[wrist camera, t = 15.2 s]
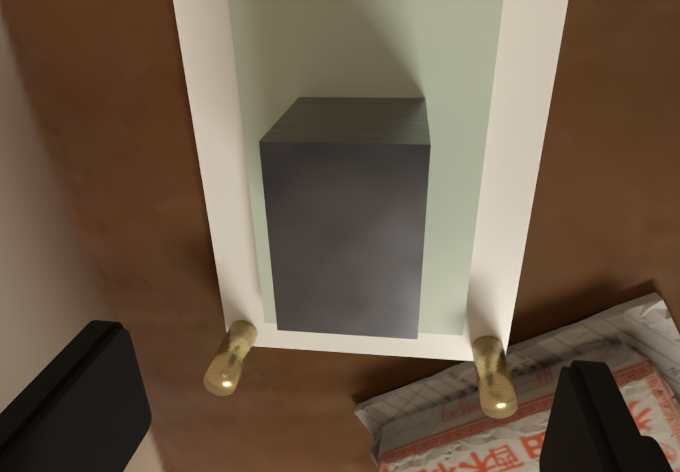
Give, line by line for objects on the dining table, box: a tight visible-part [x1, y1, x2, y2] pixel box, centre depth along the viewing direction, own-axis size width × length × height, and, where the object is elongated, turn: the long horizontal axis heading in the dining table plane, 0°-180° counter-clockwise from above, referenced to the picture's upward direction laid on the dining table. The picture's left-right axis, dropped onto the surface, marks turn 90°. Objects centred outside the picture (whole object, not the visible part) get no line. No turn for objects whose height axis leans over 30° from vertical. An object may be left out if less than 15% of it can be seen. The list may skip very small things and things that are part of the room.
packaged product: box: [353, 292, 680, 472], centre depth 28 cm, size 18×5×10 cm
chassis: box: [173, 0, 568, 419], centre depth 21 cm, size 15×21×5 cm
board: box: [228, 0, 503, 339], centre depth 19 cm, size 10×16×7 cm, turn 1°
